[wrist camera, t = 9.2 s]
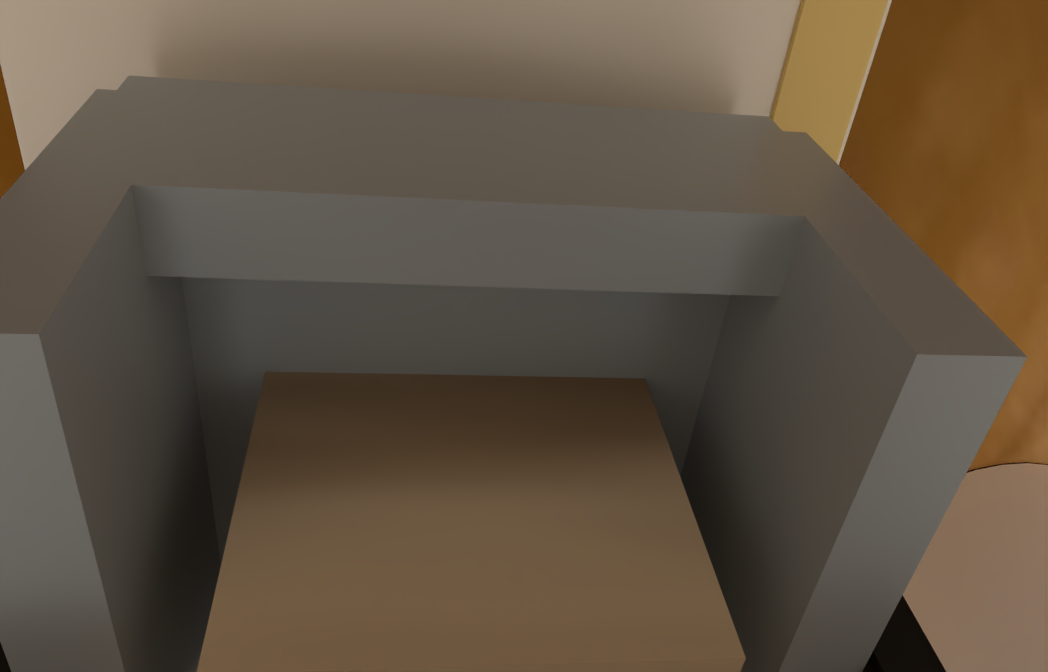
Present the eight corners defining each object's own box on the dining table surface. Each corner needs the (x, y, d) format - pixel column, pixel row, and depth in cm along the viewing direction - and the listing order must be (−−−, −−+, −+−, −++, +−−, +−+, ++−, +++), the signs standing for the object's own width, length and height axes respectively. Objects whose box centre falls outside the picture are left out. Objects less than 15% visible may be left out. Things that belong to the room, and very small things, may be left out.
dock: (68, -251, 11) (-76, -245, 8) (799, -166, 13) (940, -133, 9) (194, 551, 20) (149, 719, 16) (626, 545, 21) (668, 699, 18)
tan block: (265, 371, 9) (196, 675, 6) (644, 378, 9) (746, 658, 7) (288, 669, 12) (249, 973, 9) (580, 661, 12) (632, 942, 9)
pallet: (125, 55, 9) (-118, 332, 5) (773, 99, 10) (1027, 356, 6) (217, 658, 14) (141, 1021, 10) (626, 647, 16) (703, 973, 11)
